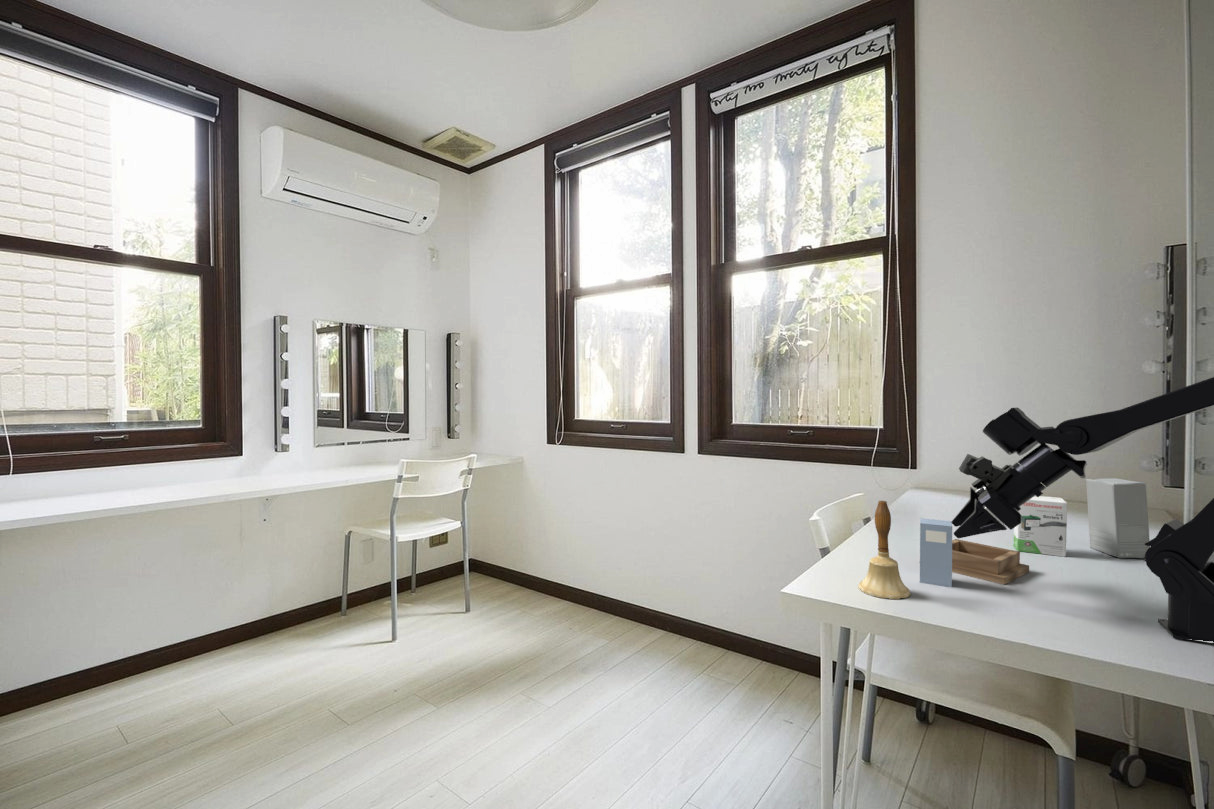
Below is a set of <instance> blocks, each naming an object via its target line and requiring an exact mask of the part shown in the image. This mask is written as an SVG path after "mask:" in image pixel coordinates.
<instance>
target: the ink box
mask: <svg viewBox="0 0 1214 809" xmlns="http://www.w3.org/2000/svg"><path fill="white" fill-rule="evenodd" d="M1020 508H1021V509H1020V510H1019V513H1020V514H1021V523H1020V524H1019V525H1017V526H1016V527H1014V528H1013V543H1012V544H1013V545H1012V546H1013V547H1014V549H1015V551H1018V552H1020V553H1021V552H1022V553H1031V554H1037V555H1038V554H1039V555H1045V556H1056V557H1064V558H1065V557H1067V529H1068V527H1067V525H1068V522H1067V520H1068V501H1066V500H1065V499H1064V498H1062V497H1057V496H1056V497H1054V496H1045V495H1041V496H1039V497H1037V496H1036V495H1035V496H1034V497H1032V498H1031V499H1030V500H1028V501H1027V502H1025V503H1024V504H1022V505H1021V506H1020Z"/></svg>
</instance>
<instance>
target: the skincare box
mask: <svg viewBox="0 0 1214 809" xmlns="http://www.w3.org/2000/svg"><path fill="white" fill-rule="evenodd" d="M1085 480H1086V481H1085V482H1086V500H1087V515H1088V516H1087V517H1088V531H1089V532H1088V533H1089V548H1090V549H1092V550H1095V551H1098V552H1101V553H1104V554H1107V555H1110V556H1112V557H1115V558H1122V559H1124V558H1127V559H1131V558H1132V559H1145V558H1144V557H1145V553H1146V551H1147V550H1148V549H1149V548H1150V547H1151V546H1146V545H1145V543H1146V542H1148V541H1150V540H1151V539H1150V528H1149V526H1150V525H1149V513H1148V512H1149V511H1148V510H1149V508H1148V497H1147V484H1146V483H1145V482H1139V481H1133V480H1128V479H1123V478H1122V479H1121V478H1115V477H1114V478H1113V477H1112V478H1086V479H1085Z"/></svg>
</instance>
